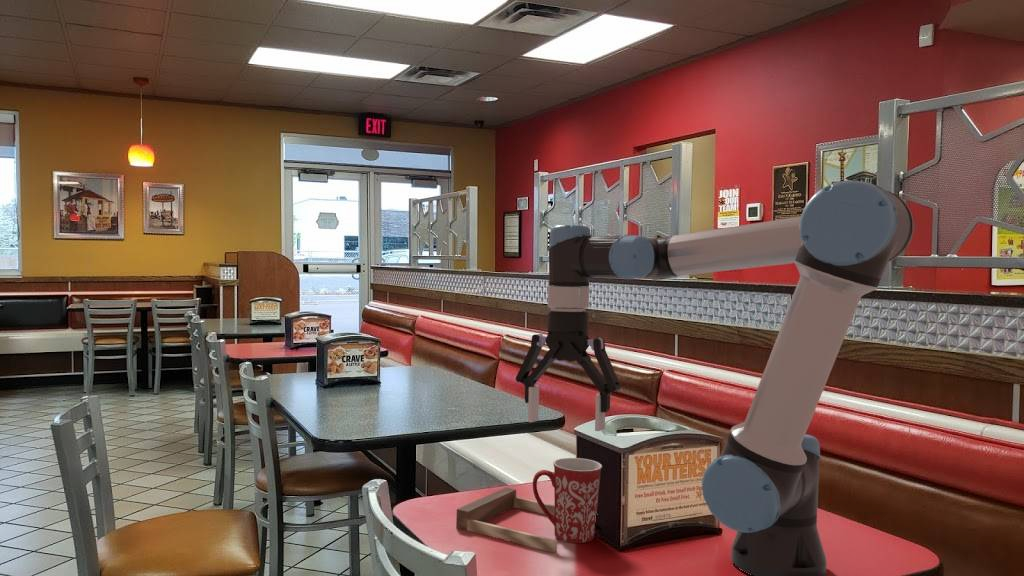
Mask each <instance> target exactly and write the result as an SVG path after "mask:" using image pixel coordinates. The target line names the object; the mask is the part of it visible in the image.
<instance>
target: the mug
mask: <svg viewBox="0 0 1024 576" xmlns="http://www.w3.org/2000/svg"><path fill="white" fill-rule="evenodd" d="M553 469H554V471H553V472H552V471H550V470H547V469H541V470H539V471H537V472H536V473H535V474H534V476H533V478H532V492H533V495H534V498H535V501H537V502H538V504H539V506H540V507H541V509H542V510H543V512H544V513H545V514H544V515H545V516H546V518H547V519H548V521H550V522H551V524H552V525H553V526H554V535H555V537H556V538H557V539H558V540H560V541H563V542H566V543H572V544H583V543H589V542H591V541H593V539H594V538H595V532H596V531H595V530H596V526H595V522H596V514H598V513H597V510H598V500H599V490H600V481H601V471H602V469H603V465H602V464H601V463H600V462H599V461H596V460H593V459H588V458H582V457H581V458H580V457H562V458H559V459H556V460H554V461H553ZM542 476H547V477H548V478H549V480H550V481H551V485H552V487H553V488H554V489H553V490H554V491H553V492H554V493H553V495H554V505H555V514H552V513H550V512H549V510H548V509H547V508H546V506H545V505H544V503H545V502H543V501H542V499H541V497H540V494H539V491H538V481H539V479H540V478H541V477H542Z"/></svg>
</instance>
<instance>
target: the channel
mask: <svg viewBox="0 0 1024 576" xmlns="http://www.w3.org/2000/svg"><path fill="white" fill-rule="evenodd" d="M543 503H544V505H545V506H546V508H547V509H548V510H549V512H550V513H552V514H555V504H551V503H546V502H543ZM513 508H517V509H520V510H525V511H529V512H533V513H537V514H542V515H545V513H544V512H543V510H542V509H541V507H540V506H539V504H538V502H537V500H532V499H528V498H524V497H520V496H519V497H518V496H517V489H516V488H510V487H507V486H506V487H504V488H501V489H499V490H497V491H495V492H492V493H490V494H488V495H486V496H483V497H480V498H479V499H477V500H474V501H472V502H470V503H467V504H465V505H463V506H460V507H458V508H457V509H456V522H455V523H456V524H455V525H456V529H461V530H464V531H468V532H473V533H475V534H480V535H483V534H484V535H483V536H487V535H489V536H488V537H491V536H494V537H493V538H495V537H498V538H503V539H506V540H509V541H508V542H510V541H512V542H511V543H514V542H515V543H514V544H518V545H522V546H525V547H531V548H534V549H537V550H538V549H539V550H540V551H545V552H548V553H552V554H553V553H554V554H555V553H557V552H558V540H556V539H552V538H549V537H546V536H540V535H537V534H532V533H529V532H525V531H520V530H516V529H512V528H509V527H504V526H500V525H496V524H493V523H489V522H487V521H489V520H491V519H493V518H495V517H497V516H499V515H501V514H503V513H505V512H507V511H510V510H511V509H513ZM504 511H505V512H504ZM502 512H503V513H502ZM500 513H501V514H500ZM498 514H499V515H498ZM496 515H497V516H496ZM494 516H495V517H494ZM492 517H493V518H492ZM490 518H491V519H490ZM488 519H489V520H488ZM486 520H487V521H486ZM498 538H497V539H498ZM506 540H505V541H506Z"/></svg>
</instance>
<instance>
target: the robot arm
mask: <svg viewBox="0 0 1024 576" xmlns="http://www.w3.org/2000/svg"><path fill="white" fill-rule="evenodd" d="M914 230H915V221H914V217H913V214H912V211H911V209H910V208H909V206H908V205H907V203H906V202H905V200H903V199H902V198H901V197H900V196H898V195H897V194H895V193H893V192H891V191H889V190H886V189H884V188H882V187H881V186H879V185H877V184H873V183H871V182H869V181H862V180H842V181H837V182H833V183H831V184H828V185H826V186H824V187H823V188H821V189H819V190H818V191H817V192H815V194H813V195H812V196H811V198H810V199H809V200H808V201H807V203H806V204H805V206H804V208H803V210H802V213H801V216H795V217H789V218H782V219H775V220H768V221H764V222H763V221H762V222H756V223H755V222H754V223H750V224H748V223H747V224H742V225H737V226H736V225H735V226H729V227H724V228H717V229H710V230H702V231H697V232H689V233H682V234H677V235H676V234H675V235H671V236H670V235H669V236H661V237H657V238H656V237H655V238H647V237H646V236H643V235H635V234H623V235H602V236H601V235H600V236H595V235H592V233H591V229H590V227H589V226H588V225H583V224H582V225H581V224H580V225H579V224H570V225H569V224H561V225H560V224H559V225H558V224H557V225H554V226H553V227H552V228H551V229H550V231H549V240H548V241H549V243H548V244H549V245H548V249H547V250H548V290H547V292H548V293H547V307H548V308H549V309H550V310H549V311H548V312H547V335H543V334H542V333H537V334H533V335H531V342H530V347H529V349H528V350H527V353H526V355H525V357H524V360H523V361H522V364H521V365H520V368H519V370H518V373H517V375H516V376H515V381H516V382H517V383H521V384H522V385H524V402H525V404H528V408H527V410H528V413H527V420H528V421H527V422H528V423H533V422H537V421H539V415H540V414H539V410H540V402H539V401H540V385H537V382H538V381H539V380H540V379H541V377H542V376H543V375H544V374H545V373H546V371H547V370H548V369H549V368H550V366H551V365H552V364H553V363H554V362H555V361H556V360H557V361H558V362H559V361H561V362H562V361H567V362H576V363H578V365H580V366H581V367H582V369H583V370H584V372H585V373H586V375H587V376H588V378H589V379H590V380H591V382H592V384H594V386H595V387H596V388H597V390H598V391H599V392H598V393H596V394H595V413H594V414H595V416H594V418H595V419H594V431H595V432H601V431H603V430H605V428H606V413H608V412H610V410H611V394H612V393H615V392H617V391H620V390H621V388H622V386H621V383H620V381H619V379H618V377H617V374H616V371H615V370H614V367H613V364H612V362H611V360H610V358H609V356H608V352H607V351H606V343H605V339H604V338H603V337H598V338H592V339H590V338H589V335H588V333H589V324H590V323H589V322H590V321H589V317H590V316H589V312H588V311H586V309H589V308H590V301H589V300H590V281H591V280H590V279H614V280H615V279H619V280H627V281H628V280H630V281H631V280H653V281H658V280H660V281H661V280H665V279H669V278H675V277H681V276H690V275H699V274H708V273H716V272H727V271H735V270H744V269H753V268H762V267H763V268H764V267H771V266H779V265H781V266H782V265H788V264H789V265H790V264H795V267H796V268H797V271H798V273H799V279H798V282H797V284H796V287H795V289H794V292H793V295H792V297H791V300H790V303H789V305H788V308H787V310H786V313H785V316H784V318H783V321H782V324H781V326H780V329H779V332H778V334H777V337H776V339H775V342H774V345H773V346H772V349H771V352H770V355H769V358H768V359H767V362H766V366H765V368H764V371H763V373H762V376H761V379H760V381H759V384H758V386H757V388H756V392H755V393H754V396H753V399H752V401H751V404H750V407H749V410H748V412H747V415H746V418H745V420H744V421H743V422H741V423H738V424H736V425H733V426H732V427H731V429H730V430H729V433H728V436H727V438H726V441H725V443H724V446H723V448H722V451H721V453H720V456H719V457H717V458H715V459H713V460H712V461H711V463H709V465H708V466H707V467H706V468H705V471H704V472H703V476H702V480H701V492H702V497H703V500H704V502H705V503H706V506H707V508H708V509H709V511H710V513H711V514H712V516H713V517H715V519H716V520H718V522H720V523H721V524H722V525H723V526H725V527H726V528H729V529H731V530H734V531H736V535H735V538H734V539H733V542H732V545H731V554H730V555H731V556H730V560H732V561H731V563H732V562H733V563H734V564H735V566H737V567H738V568H740V569H742V570H743V571H745V572H747V573H749V574H751V575H754V576H825V575H826V576H827V564H828V563H827V557H826V554H825V551H824V548H823V547H824V546H823V543H822V541H821V537H820V534H819V530H818V523H817V522H818V505H819V504H818V502H819V481H820V461H821V459H822V457H821V456H822V455H821V449H820V448H821V447H820V442H819V440H818V439H817V437H815V436H814V435H812V434H811V435H810V434H808V433H807V432H808V428H809V426H810V424H811V421H812V419H813V416H814V413H815V411H816V408H817V406H818V404H819V401H820V399H821V396H822V395H823V394H822V393H823V391H824V389H825V386H826V384H827V382H828V379H829V377H830V374H831V372H832V370H833V367H834V364H835V362H836V359H837V357H838V355H839V352H840V349H841V347H842V345H843V342H844V340H845V337H846V335H847V332H848V330H849V329H850V328H849V327H850V325H851V322H852V320H853V318H854V315H855V313H856V310H857V307H858V305H859V303H860V300H861V298H862V297H863V296H864V295H867V294H869V293H871V292H873V291H876V290H877V289H878V287H879V285H880V283H881V280H882V278H883V275H884V272H885V270H886V268H887V266H888V263H890V262H893V261H894V260H895V259H896V258H898V257H899V256H901V255H902V254H903V253H904V252H905V250H907V248H908V247H909V245H910V243H911V242H912V239H913V235H914V232H915V231H914ZM545 345H546V346H547V347H548V349H549V350H547V352H546V353H545V354H544V356H543V358H542V359H541V360H540V362H539V363H538V364H537V365H536V367H534V365H535V364H536V362H537V360H538V357H539V356H540V354H541V351H542V348H543V347H544V346H545ZM589 347H590V349H591V351H593V354H594V356H595V358H596V361H597V363H598V366H599V368H600V370H599V369H598V368H597V366H596V365H595V363H594V362H593V361H592V357H591V356H590V354H589V353H588V351H587V349H588V348H589ZM533 367H534V369H533ZM532 370H533V371H532ZM600 371H601V372H600ZM601 373H602V374H603V375H602V374H601ZM806 433H807V434H806ZM733 563H732V564H733ZM735 566H734V567H735ZM737 567H736V568H737ZM738 568H737V569H738ZM743 571H742V572H743ZM749 574H748V575H749ZM751 575H750V576H751Z"/></svg>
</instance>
